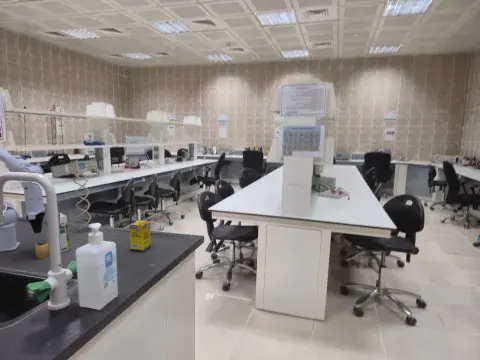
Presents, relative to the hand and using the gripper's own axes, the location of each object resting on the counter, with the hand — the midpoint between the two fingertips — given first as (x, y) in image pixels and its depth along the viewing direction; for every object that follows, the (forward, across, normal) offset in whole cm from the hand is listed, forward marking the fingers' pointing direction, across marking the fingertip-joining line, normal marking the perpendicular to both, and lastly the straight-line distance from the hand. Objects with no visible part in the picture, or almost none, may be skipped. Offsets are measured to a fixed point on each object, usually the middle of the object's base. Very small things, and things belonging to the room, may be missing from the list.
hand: (37, 232), depth 120 cm
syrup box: (+9, 0, -7) cm, 11 cm away
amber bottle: (+8, -4, -2) cm, 10 cm away
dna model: (+9, +22, -14) cm, 28 cm away
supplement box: (+9, -10, -37) cm, 39 cm away
